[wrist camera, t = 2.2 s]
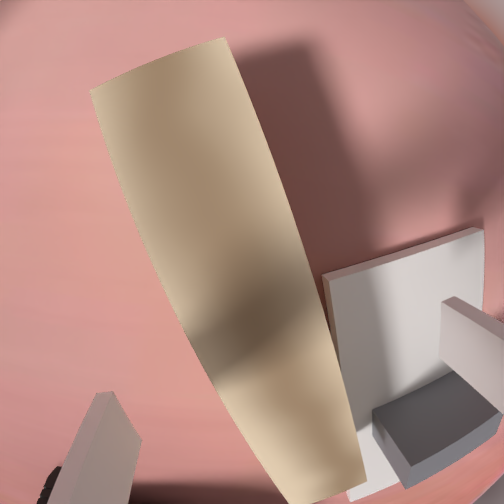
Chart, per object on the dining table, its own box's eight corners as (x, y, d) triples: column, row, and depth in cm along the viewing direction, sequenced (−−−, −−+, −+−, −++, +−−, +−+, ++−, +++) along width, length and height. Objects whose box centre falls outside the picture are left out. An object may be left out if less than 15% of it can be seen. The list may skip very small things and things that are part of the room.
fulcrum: (346, 493, 23) (369, 546, 16) (321, 274, 17) (384, 331, 10) (446, 446, 24) (479, 486, 17) (472, 226, 18) (550, 248, 11)
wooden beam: (276, 449, 20) (293, 509, 15) (130, 120, 15) (89, 90, 9) (338, 425, 21) (367, 481, 15) (219, 84, 15) (224, 36, 9)
